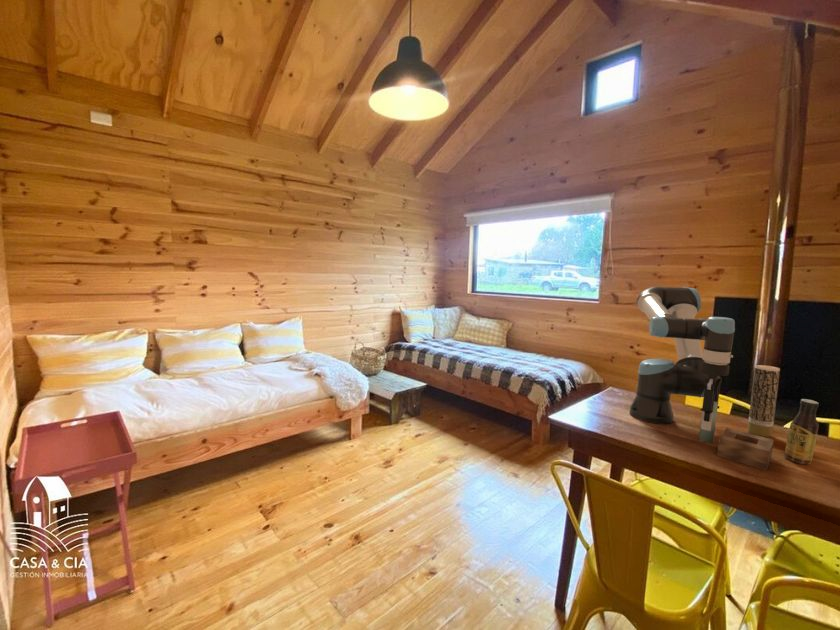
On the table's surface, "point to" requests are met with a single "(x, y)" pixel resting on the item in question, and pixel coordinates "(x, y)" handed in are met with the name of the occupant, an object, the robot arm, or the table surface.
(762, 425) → the bark-textured cylinder
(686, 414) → the table surface
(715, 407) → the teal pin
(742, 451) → the bore block
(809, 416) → the sauce bottle
